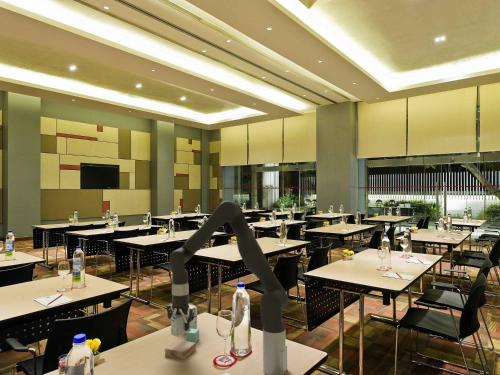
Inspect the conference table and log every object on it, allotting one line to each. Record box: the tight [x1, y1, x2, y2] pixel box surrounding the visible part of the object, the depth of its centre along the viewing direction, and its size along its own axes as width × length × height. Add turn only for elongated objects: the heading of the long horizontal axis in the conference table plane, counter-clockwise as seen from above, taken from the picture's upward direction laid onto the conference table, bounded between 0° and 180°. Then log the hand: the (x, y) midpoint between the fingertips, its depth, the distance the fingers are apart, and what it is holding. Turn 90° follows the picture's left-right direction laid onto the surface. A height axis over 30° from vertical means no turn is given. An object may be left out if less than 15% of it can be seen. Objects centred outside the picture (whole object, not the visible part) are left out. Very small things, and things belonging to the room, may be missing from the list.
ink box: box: [188, 304, 198, 329], centre depth 191 cm, size 8×5×12 cm, turn 123°
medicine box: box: [170, 313, 191, 338], centre depth 165 cm, size 8×4×9 cm, turn 135°
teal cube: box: [184, 328, 200, 344], centre depth 177 cm, size 5×5×5 cm
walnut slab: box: [164, 339, 197, 360], centre depth 165 cm, size 10×10×4 cm
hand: (180, 329), depth 165 cm, fingers closed on medicine box, 5 cm apart
